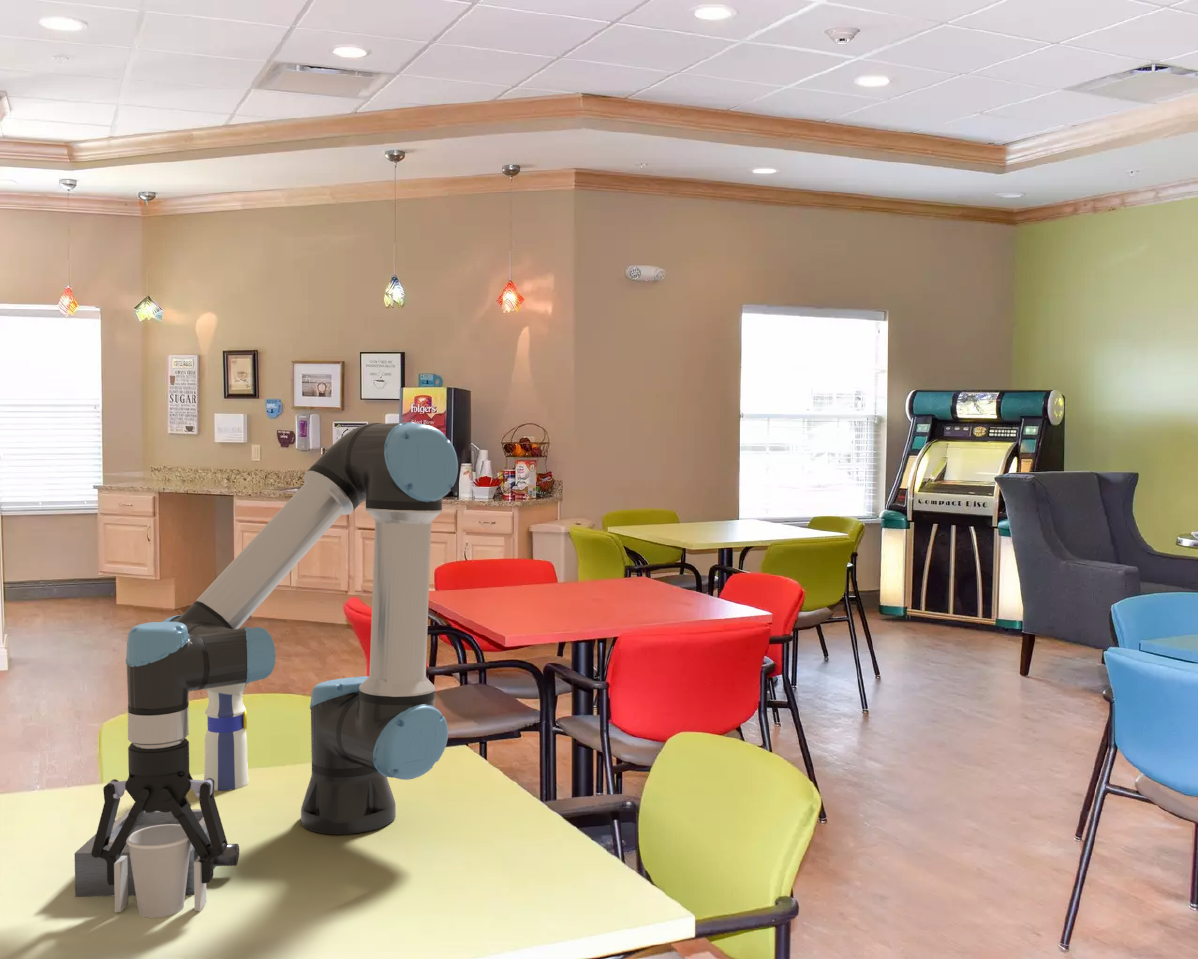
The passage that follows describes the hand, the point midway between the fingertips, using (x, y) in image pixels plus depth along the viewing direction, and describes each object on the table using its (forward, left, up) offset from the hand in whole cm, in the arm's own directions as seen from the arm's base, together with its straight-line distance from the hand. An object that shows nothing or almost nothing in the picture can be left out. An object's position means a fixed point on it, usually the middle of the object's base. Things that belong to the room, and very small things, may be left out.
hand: (161, 906), depth 151 cm
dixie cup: (0, 0, 0) cm, 0 cm away
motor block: (+3, -11, 0) cm, 11 cm away
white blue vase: (+6, -54, 0) cm, 54 cm away
